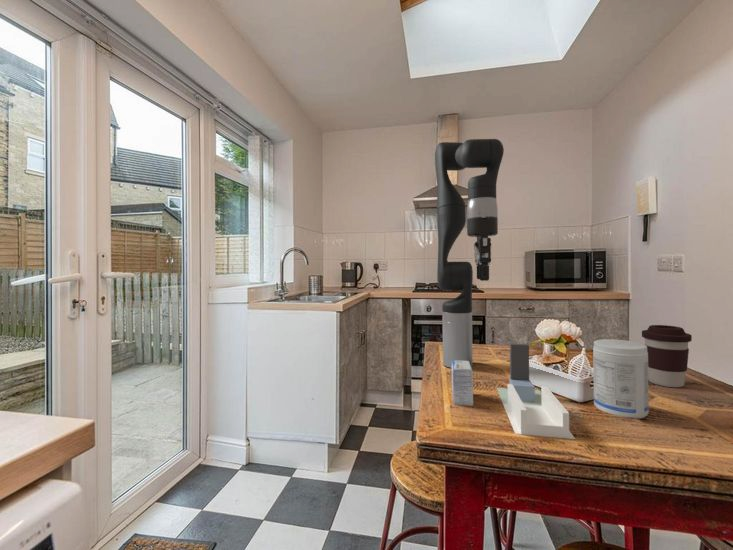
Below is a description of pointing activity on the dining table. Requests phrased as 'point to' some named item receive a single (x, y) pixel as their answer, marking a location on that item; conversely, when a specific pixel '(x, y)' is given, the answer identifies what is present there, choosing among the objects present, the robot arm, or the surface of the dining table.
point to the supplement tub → (621, 377)
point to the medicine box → (462, 383)
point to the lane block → (521, 372)
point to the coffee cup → (667, 354)
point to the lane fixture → (536, 413)
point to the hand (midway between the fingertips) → (482, 279)
